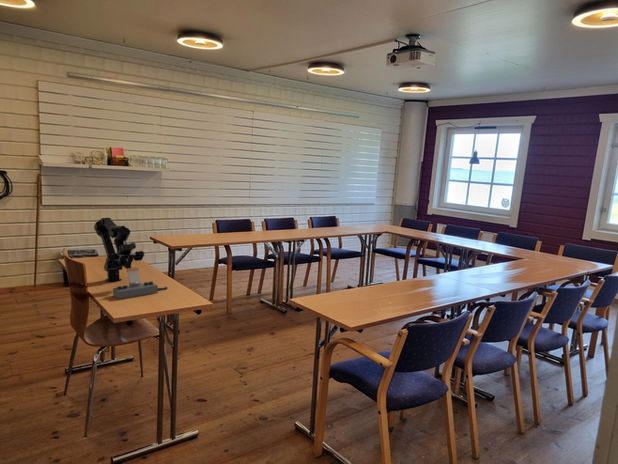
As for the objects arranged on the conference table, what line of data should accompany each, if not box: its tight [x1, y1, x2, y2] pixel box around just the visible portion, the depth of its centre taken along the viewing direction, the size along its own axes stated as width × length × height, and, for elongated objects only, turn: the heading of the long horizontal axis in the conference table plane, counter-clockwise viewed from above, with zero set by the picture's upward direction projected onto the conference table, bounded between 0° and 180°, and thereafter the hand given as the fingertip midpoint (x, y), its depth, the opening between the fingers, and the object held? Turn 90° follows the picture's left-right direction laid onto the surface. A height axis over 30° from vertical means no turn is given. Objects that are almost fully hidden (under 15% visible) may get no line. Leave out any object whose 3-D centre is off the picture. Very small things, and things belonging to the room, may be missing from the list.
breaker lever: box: [126, 266, 141, 287], centre depth 224 cm, size 2×5×9 cm, turn 132°
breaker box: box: [112, 281, 168, 300], centre depth 226 cm, size 8×27×5 cm, turn 133°
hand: (129, 270), depth 228 cm, fingers closed
